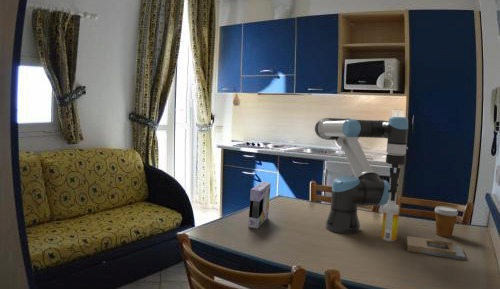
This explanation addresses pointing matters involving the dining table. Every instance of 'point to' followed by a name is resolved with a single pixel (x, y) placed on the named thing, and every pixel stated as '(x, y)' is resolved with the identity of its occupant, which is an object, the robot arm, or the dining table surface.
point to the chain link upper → (421, 244)
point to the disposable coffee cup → (445, 220)
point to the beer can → (390, 223)
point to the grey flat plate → (458, 254)
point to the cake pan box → (259, 204)
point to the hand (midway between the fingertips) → (392, 204)
